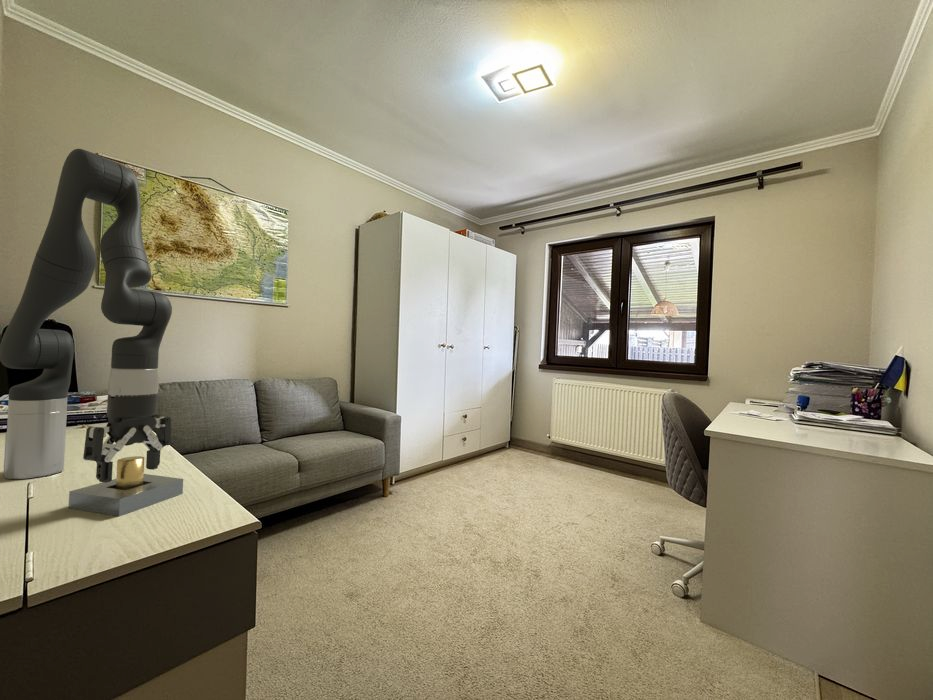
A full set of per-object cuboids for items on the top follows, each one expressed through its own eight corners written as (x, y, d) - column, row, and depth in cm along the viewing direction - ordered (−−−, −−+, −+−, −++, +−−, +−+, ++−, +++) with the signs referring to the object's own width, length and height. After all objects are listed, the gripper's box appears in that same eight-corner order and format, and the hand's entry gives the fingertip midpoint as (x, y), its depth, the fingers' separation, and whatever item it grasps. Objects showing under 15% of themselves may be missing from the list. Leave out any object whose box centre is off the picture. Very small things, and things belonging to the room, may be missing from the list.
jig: (68, 507, 72) (69, 491, 72) (137, 487, 84) (137, 472, 84) (119, 516, 69) (119, 499, 69) (182, 493, 81) (183, 478, 81)
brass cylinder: (109, 502, 75) (111, 460, 75) (131, 495, 79) (133, 455, 79) (126, 505, 74) (128, 462, 74) (147, 497, 78) (149, 457, 78)
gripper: (155, 387, 84) (151, 463, 84) (75, 393, 71) (71, 484, 70) (183, 389, 83) (179, 467, 83) (107, 396, 69) (102, 489, 69)
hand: (129, 475), depth 76 cm, fingers open, 8 cm apart
